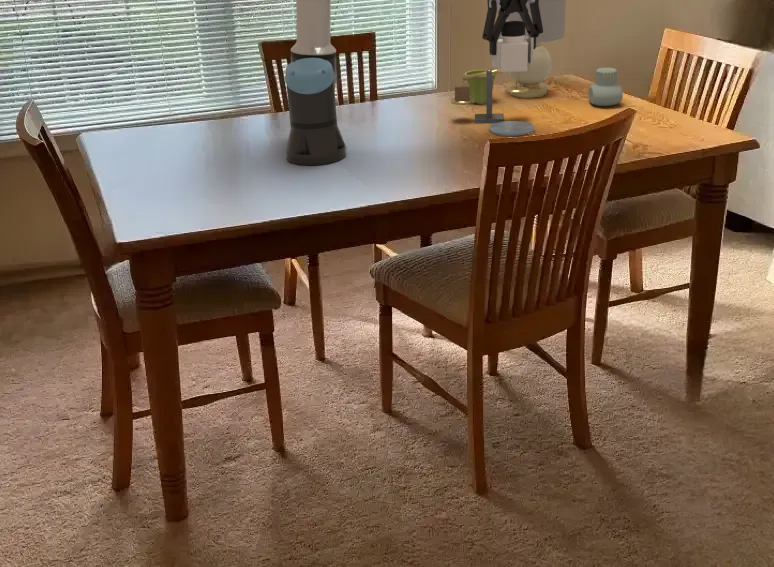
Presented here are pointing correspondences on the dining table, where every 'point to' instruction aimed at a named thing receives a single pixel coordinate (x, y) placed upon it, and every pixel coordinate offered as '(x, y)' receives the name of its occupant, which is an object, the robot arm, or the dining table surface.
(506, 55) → the medicine bottle
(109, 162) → the dining table surface
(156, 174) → the dining table surface
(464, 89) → the balance scale
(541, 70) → the lamp
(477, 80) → the plant pot
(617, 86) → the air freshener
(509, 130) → the dish
